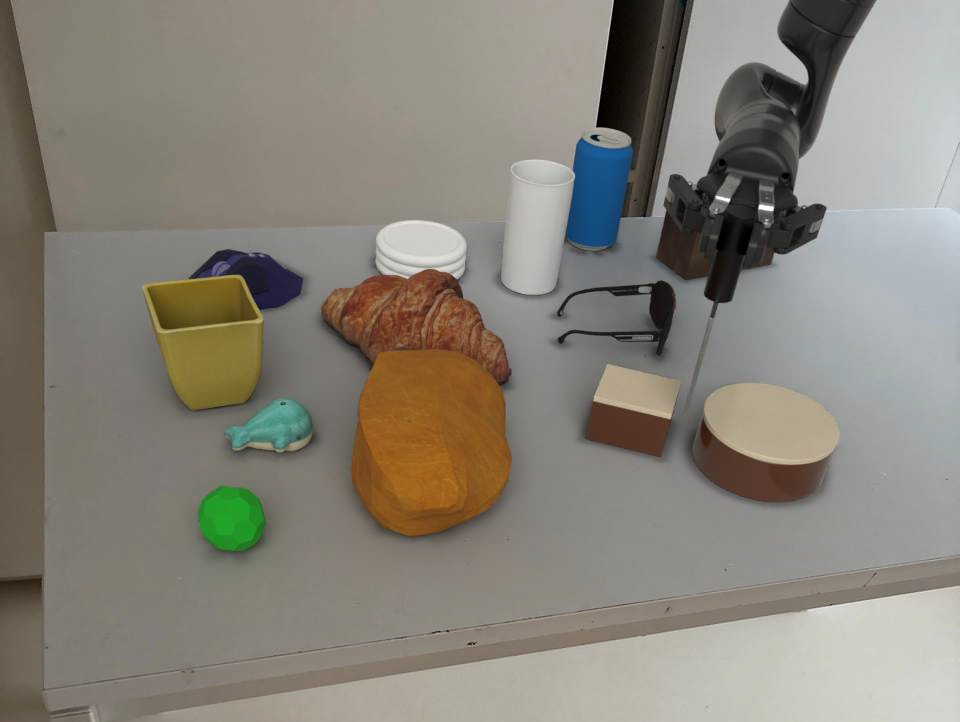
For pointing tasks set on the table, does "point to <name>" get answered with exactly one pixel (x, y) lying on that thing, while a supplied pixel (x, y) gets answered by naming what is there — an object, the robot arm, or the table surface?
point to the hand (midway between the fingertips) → (730, 251)
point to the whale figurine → (274, 428)
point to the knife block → (688, 252)
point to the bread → (429, 441)
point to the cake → (764, 442)
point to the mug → (535, 225)
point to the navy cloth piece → (254, 276)
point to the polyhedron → (231, 518)
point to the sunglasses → (658, 309)
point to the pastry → (414, 319)
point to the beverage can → (598, 188)
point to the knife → (725, 270)
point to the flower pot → (208, 338)
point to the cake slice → (633, 410)
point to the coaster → (419, 249)
